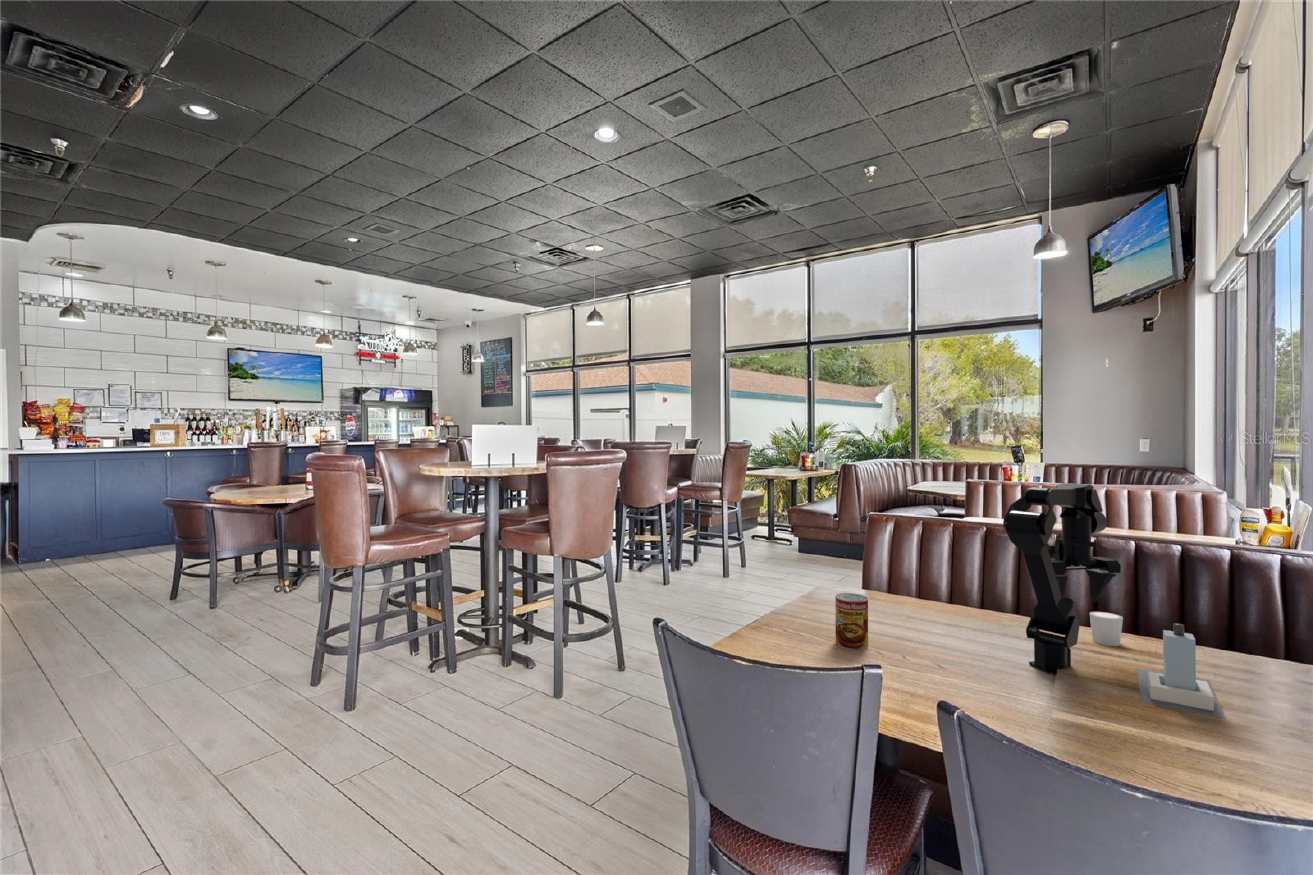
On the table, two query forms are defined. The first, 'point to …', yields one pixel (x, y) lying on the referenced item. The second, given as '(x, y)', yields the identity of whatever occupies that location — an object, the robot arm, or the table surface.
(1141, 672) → the board
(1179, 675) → the plug
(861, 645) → the canned food
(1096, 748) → the table surface
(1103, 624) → the white cup
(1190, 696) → the socket
